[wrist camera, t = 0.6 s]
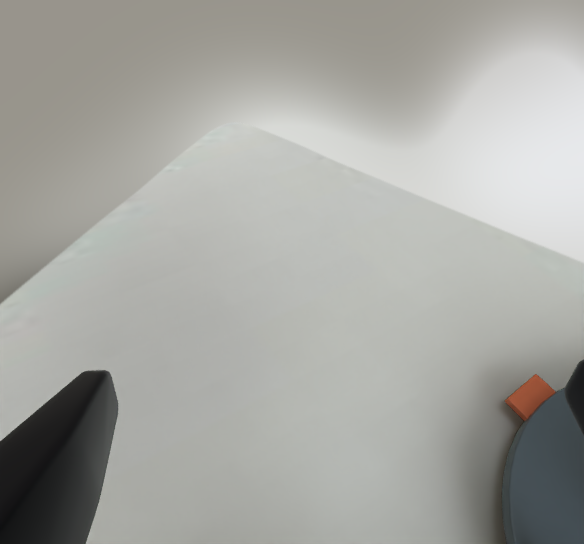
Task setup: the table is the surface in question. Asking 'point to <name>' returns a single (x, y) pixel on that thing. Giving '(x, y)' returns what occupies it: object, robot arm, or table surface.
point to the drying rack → (544, 470)
